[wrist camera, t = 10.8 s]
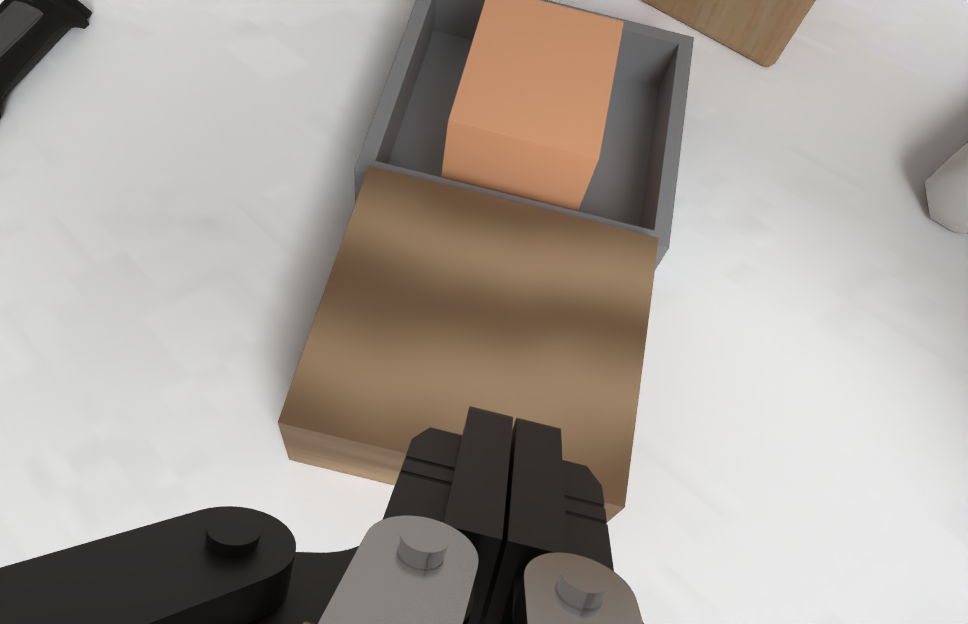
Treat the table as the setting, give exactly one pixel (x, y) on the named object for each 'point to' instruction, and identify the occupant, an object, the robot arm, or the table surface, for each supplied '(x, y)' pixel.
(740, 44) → the wooden block
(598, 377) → the square wooden plinth
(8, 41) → the electric trimmer
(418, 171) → the box
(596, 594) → the robot arm
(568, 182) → the terracotta block
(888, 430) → the table surface
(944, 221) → the tube
